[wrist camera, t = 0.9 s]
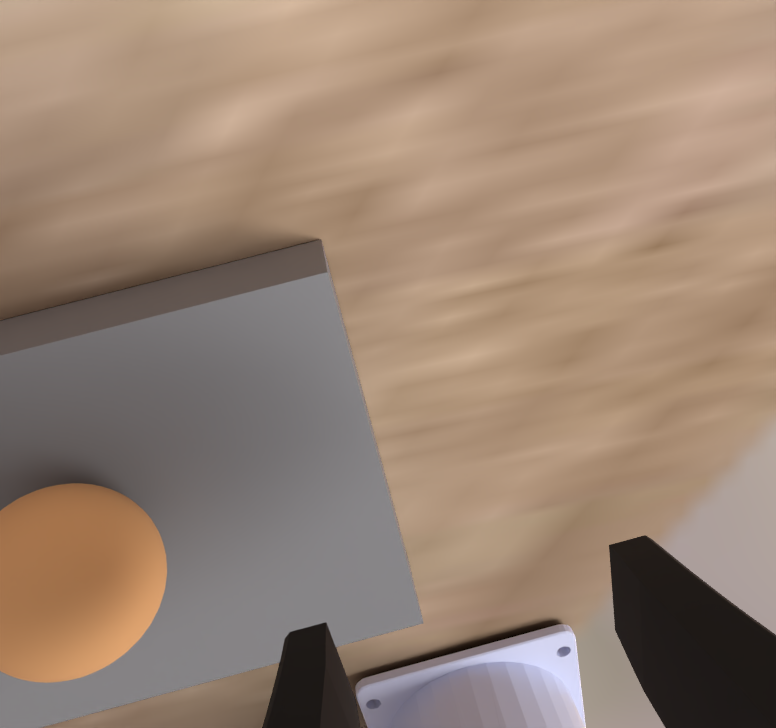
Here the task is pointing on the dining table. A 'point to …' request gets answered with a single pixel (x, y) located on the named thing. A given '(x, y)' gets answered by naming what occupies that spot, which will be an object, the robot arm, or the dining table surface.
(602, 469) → the dining table surface
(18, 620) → the ball
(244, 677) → the dining table surface
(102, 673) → the board
